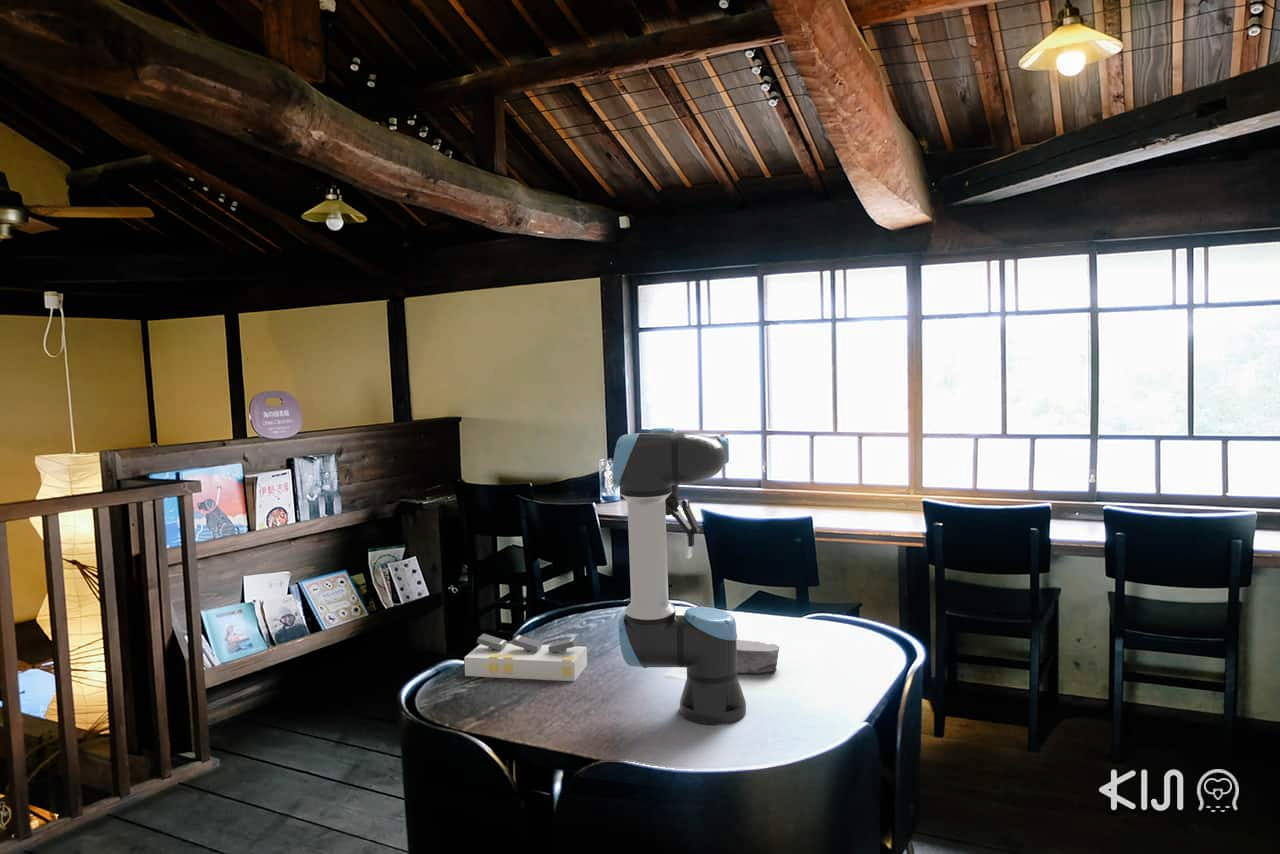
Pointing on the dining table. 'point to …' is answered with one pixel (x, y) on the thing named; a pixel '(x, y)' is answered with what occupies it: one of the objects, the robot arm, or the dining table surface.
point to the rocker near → (563, 644)
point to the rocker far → (492, 642)
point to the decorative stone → (756, 657)
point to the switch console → (526, 663)
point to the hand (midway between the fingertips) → (666, 556)
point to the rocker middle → (527, 643)
